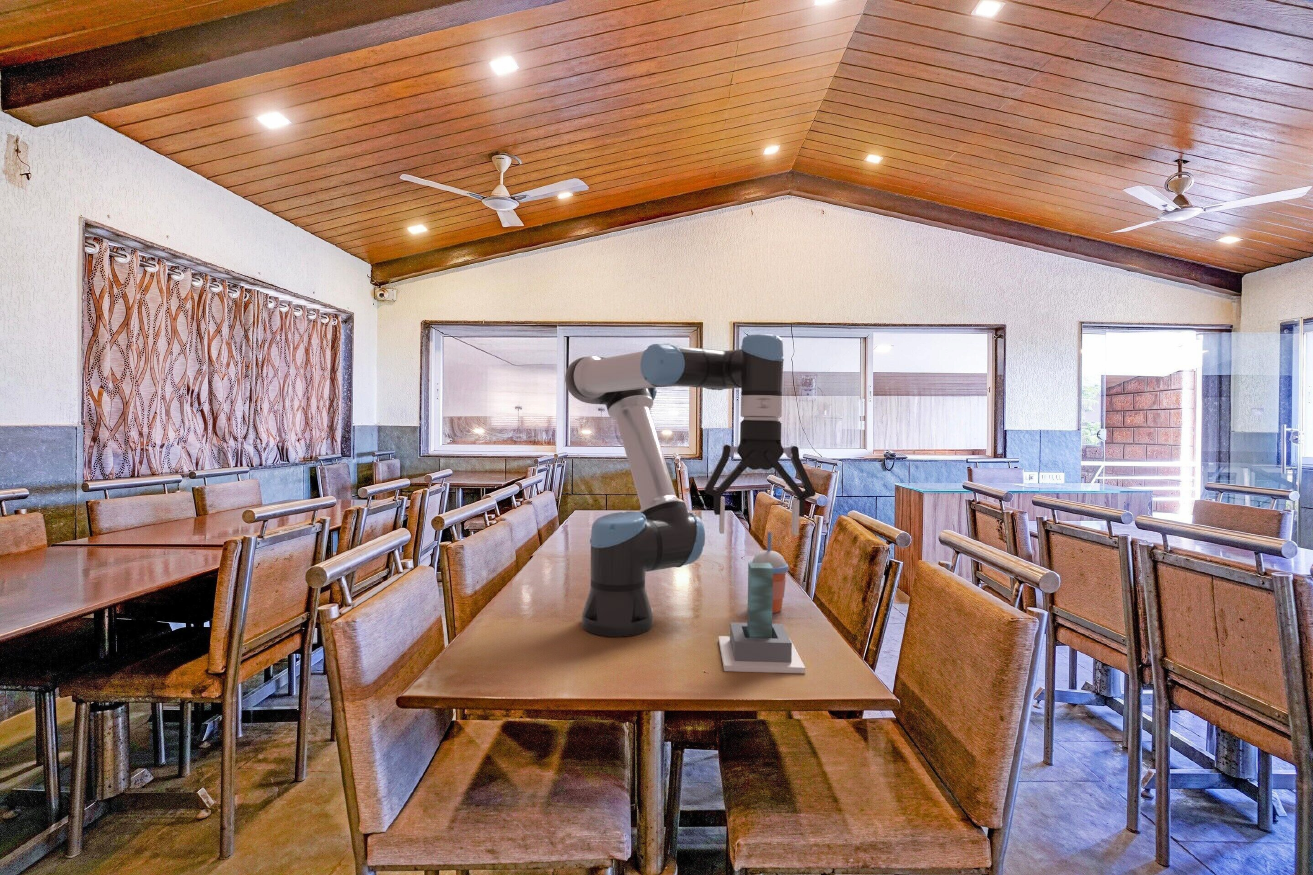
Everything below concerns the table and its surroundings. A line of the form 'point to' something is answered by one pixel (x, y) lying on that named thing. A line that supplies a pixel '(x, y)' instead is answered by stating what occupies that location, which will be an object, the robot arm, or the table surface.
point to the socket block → (759, 651)
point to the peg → (760, 600)
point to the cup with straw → (774, 572)
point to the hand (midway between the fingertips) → (758, 533)
